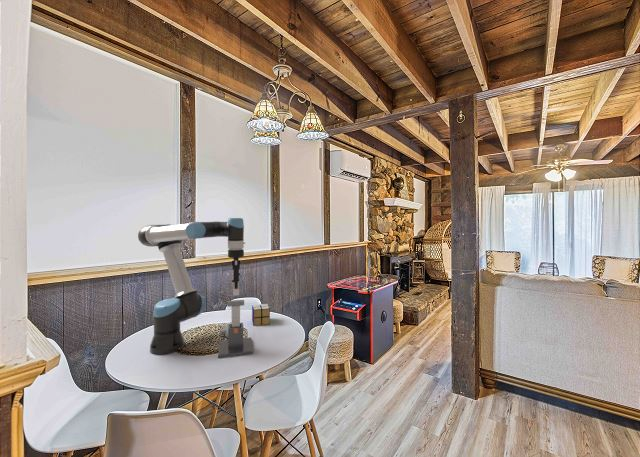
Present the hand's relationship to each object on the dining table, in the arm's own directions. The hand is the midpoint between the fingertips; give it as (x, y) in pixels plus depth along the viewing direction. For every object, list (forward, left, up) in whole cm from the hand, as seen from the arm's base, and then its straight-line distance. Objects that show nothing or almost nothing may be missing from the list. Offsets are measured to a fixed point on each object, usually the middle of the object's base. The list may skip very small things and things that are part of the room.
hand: (236, 291), depth 142 cm
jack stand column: (0, 0, -27) cm, 27 cm away
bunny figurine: (-4, +20, -29) cm, 36 cm away
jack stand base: (0, 0, -29) cm, 29 cm away
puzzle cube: (+15, +33, -29) cm, 47 cm away
